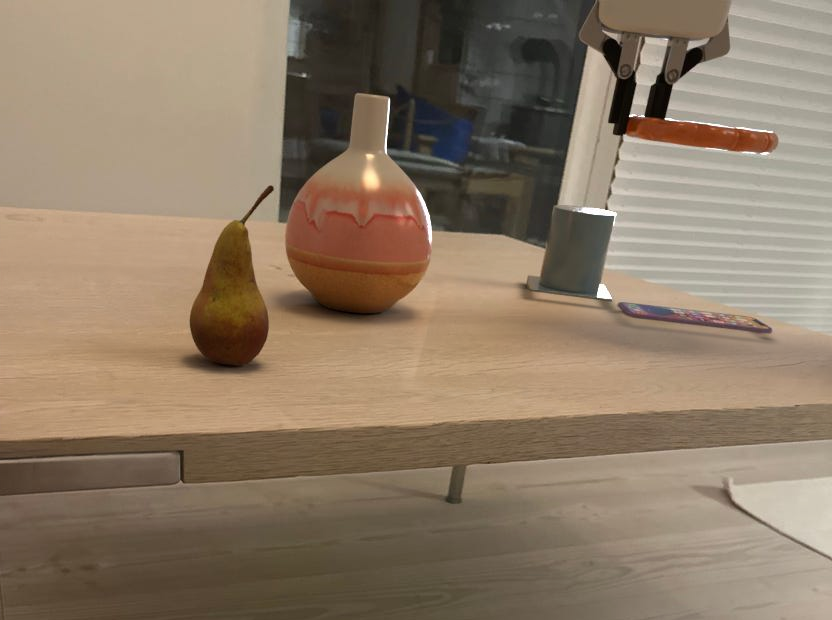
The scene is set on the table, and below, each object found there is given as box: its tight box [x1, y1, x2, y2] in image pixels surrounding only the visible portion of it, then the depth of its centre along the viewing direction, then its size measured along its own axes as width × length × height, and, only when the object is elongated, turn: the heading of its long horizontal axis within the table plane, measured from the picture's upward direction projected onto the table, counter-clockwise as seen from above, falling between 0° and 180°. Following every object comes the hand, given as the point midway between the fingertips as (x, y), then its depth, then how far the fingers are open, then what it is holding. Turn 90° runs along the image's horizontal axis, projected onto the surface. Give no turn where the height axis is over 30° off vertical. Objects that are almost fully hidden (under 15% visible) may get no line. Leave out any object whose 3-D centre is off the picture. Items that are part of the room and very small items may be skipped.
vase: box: [284, 92, 433, 314], centre depth 84 cm, size 14×14×18 cm
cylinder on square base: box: [525, 204, 617, 302], centre depth 103 cm, size 9×9×9 cm
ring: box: [624, 114, 779, 155], centre depth 77 cm, size 12×12×2 cm
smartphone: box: [617, 301, 773, 334], centre depth 97 cm, size 1×7×15 cm
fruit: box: [189, 185, 275, 366], centre depth 65 cm, size 6×6×12 cm
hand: (632, 135), depth 78 cm, fingers closed on ring, 1 cm apart
